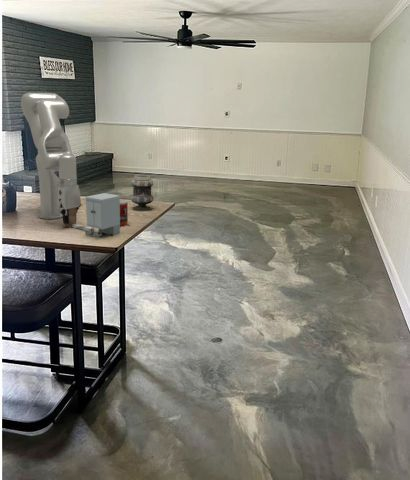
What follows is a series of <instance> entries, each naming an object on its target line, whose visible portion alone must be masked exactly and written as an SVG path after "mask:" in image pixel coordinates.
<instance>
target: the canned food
mask: <svg viewBox="0 0 410 480" xmlns="http://www.w3.org/2000/svg"><path fill="white" fill-rule="evenodd" d="M128 209H129V208H128V201H127V200H125V199H120V227H125V226H127V225H128V221H129V220H128V219H129V217H128Z"/></svg>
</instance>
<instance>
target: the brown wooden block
mask: <svg viewBox="0 0 410 480" xmlns="http://www.w3.org/2000/svg"><path fill="white" fill-rule="evenodd" d="M64 211H65V209H64ZM67 215H68V216H69V224H65V223H63V227H66V228H75V229H79V230H83V231H87V230H93V231H95V228H94V227H90V226H87V225H84V224H83V225H82V224H78V223H77V222H76V217H77V213H76V207H75V208H71V209H68V214H67Z"/></svg>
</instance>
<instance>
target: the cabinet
mask: <svg viewBox="0 0 410 480" xmlns="http://www.w3.org/2000/svg"><path fill="white" fill-rule="evenodd" d="M120 200H121V195H117V194H112V193H107V192H103V193H99V194H98V193H97V194H93V195H88V196H85V203H86V204H85V206H86V209H85V210H86V226H87V227H92V228H94V229H98V232H102V234H108V235H112V236H115V235H119V234H120V233H121V226H120Z"/></svg>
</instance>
